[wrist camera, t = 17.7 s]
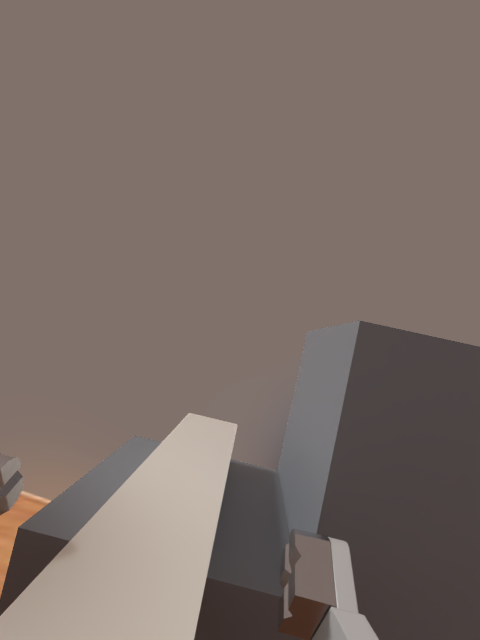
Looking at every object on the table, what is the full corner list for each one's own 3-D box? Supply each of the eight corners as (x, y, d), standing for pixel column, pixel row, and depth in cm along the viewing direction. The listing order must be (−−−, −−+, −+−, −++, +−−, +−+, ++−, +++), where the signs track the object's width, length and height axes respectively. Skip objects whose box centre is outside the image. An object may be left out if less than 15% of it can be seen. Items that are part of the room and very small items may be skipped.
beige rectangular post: (-65, 807, 6) (-23, 640, 6) (180, 449, 27) (189, 412, 27) (142, 873, 6) (182, 698, 6) (229, 461, 27) (237, 424, 27)
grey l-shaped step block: (-77, 900, 13) (86, 261, 15) (92, 615, 27) (167, 300, 29) (550, 1109, 12) (659, 386, 14) (390, 697, 26) (453, 364, 27)
